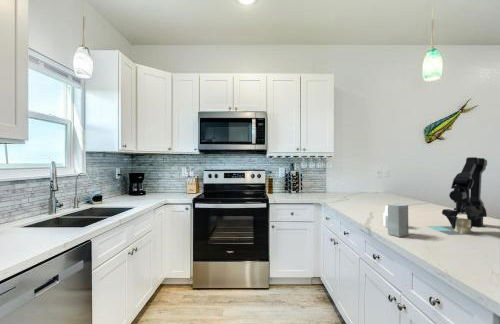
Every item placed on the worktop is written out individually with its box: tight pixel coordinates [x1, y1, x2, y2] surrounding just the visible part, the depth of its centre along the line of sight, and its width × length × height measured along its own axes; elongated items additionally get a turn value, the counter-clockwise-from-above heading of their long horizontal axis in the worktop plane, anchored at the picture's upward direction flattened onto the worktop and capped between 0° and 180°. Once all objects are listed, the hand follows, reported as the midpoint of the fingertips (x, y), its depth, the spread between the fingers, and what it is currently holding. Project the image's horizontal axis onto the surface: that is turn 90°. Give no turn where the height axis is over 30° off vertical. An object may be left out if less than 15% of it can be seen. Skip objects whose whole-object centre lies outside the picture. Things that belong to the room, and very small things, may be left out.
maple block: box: [454, 217, 472, 233], centre depth 143 cm, size 5×5×7 cm
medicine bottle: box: [382, 205, 388, 229], centre depth 155 cm, size 7×7×12 cm
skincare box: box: [387, 203, 409, 238], centre depth 138 cm, size 8×7×16 cm
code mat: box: [428, 225, 481, 236], centre depth 146 cm, size 18×16×1 cm
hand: (462, 228), depth 143 cm, fingers open, 9 cm apart
